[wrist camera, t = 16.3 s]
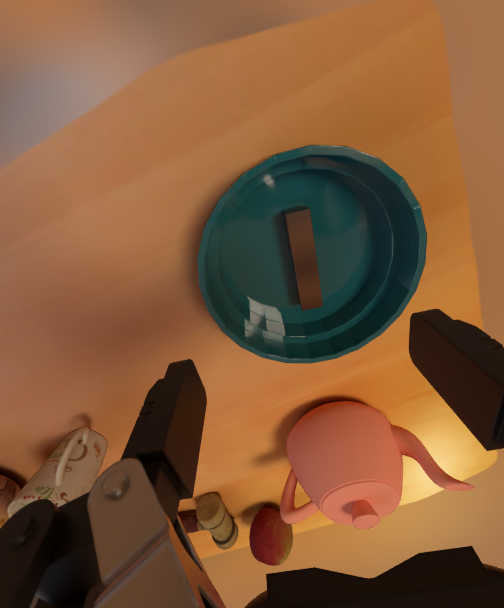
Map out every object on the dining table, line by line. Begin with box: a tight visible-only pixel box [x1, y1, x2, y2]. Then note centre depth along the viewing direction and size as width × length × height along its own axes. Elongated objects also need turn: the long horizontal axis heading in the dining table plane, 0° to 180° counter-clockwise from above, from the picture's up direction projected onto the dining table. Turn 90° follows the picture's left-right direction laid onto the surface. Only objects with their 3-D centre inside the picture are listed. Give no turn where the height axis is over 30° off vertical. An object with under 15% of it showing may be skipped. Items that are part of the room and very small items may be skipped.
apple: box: [249, 507, 293, 566], centre depth 48 cm, size 8×8×8 cm
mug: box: [7, 427, 108, 517], centre depth 36 cm, size 8×13×10 cm, turn 161°
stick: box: [282, 205, 323, 311], centre depth 27 cm, size 10×2×2 cm, turn 13°
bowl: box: [197, 145, 427, 363], centre depth 26 cm, size 19×19×6 cm
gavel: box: [179, 493, 238, 550], centre depth 50 cm, size 21×5×10 cm
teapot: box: [280, 401, 475, 529], centre depth 35 cm, size 22×15×12 cm
